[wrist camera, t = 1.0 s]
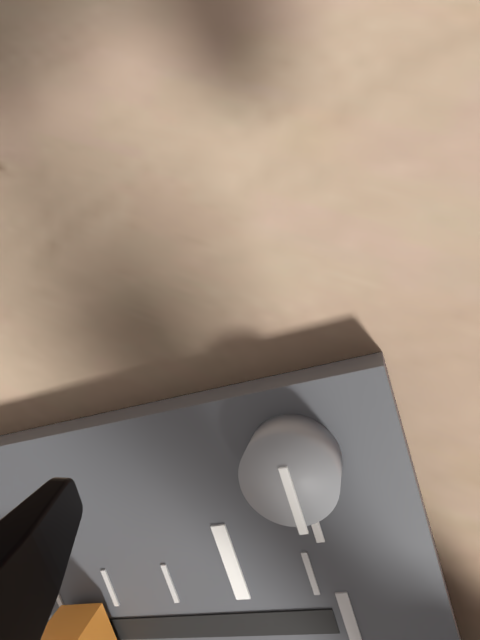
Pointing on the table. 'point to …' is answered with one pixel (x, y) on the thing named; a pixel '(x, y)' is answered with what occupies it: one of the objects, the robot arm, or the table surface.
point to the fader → (79, 623)
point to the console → (247, 512)
